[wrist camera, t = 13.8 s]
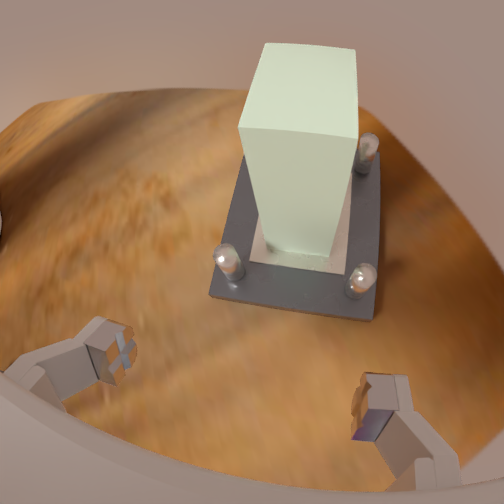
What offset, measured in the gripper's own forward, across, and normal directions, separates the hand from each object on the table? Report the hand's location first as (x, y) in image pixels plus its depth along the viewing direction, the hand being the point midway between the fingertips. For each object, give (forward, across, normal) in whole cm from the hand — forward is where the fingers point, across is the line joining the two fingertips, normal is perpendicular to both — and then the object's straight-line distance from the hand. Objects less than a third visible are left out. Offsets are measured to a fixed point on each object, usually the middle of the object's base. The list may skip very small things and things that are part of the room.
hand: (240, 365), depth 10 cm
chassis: (+19, -1, +1) cm, 19 cm away
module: (+18, -1, 0) cm, 18 cm away
